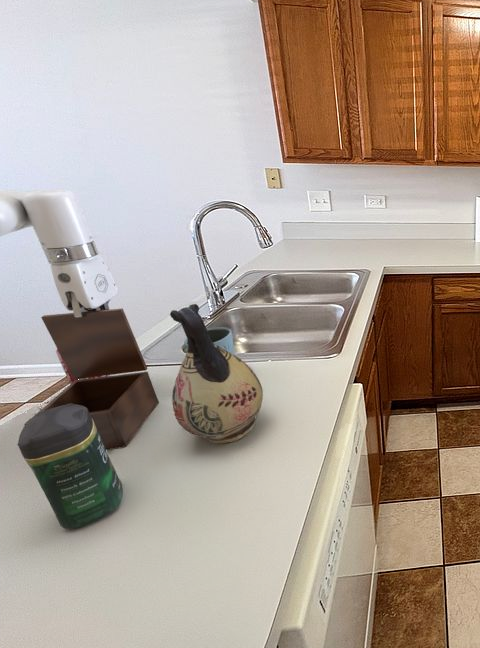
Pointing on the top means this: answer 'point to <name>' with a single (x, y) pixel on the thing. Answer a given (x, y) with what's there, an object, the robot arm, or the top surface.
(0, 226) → the robot arm
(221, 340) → the light blue cup
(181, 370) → the ceramic jug
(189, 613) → the top surface
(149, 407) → the chest
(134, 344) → the chest lid
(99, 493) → the coffee jar
